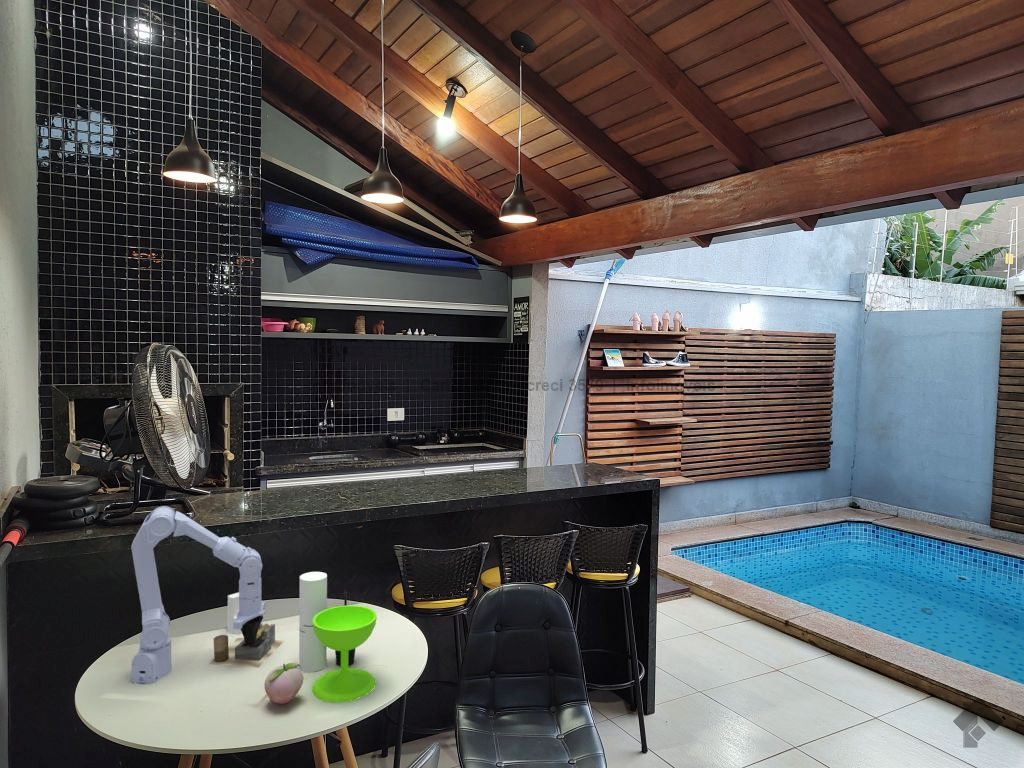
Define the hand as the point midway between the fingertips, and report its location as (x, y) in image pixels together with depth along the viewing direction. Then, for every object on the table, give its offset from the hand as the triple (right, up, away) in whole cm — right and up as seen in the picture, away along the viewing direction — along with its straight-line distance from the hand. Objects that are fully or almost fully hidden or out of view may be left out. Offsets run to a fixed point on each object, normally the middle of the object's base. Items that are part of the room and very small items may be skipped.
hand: (250, 643), depth 181 cm
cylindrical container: (+18, -6, -1) cm, 19 cm away
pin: (0, 0, +5) cm, 6 cm away
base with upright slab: (-10, -4, +19) cm, 22 cm away
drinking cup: (+26, -6, +1) cm, 27 cm away
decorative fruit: (+16, -7, -20) cm, 27 cm away
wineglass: (+29, -7, -11) cm, 32 cm away
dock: (-2, -5, +3) cm, 6 cm away
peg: (-7, -4, -1) cm, 8 cm away
